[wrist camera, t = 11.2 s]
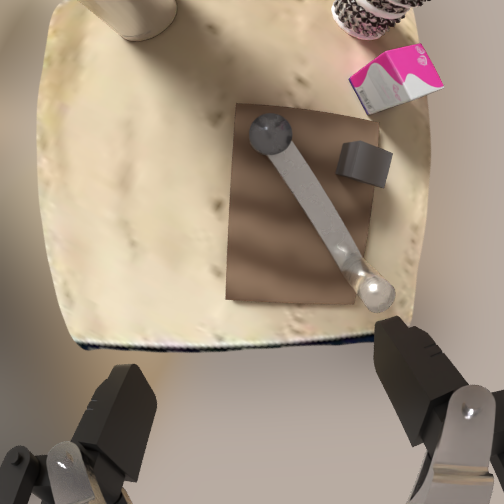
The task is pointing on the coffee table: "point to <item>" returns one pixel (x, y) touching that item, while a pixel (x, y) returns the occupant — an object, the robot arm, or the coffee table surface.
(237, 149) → the brown board
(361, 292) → the lever
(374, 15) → the white patterned cylinder
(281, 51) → the coffee table surface
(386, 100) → the supplement box
